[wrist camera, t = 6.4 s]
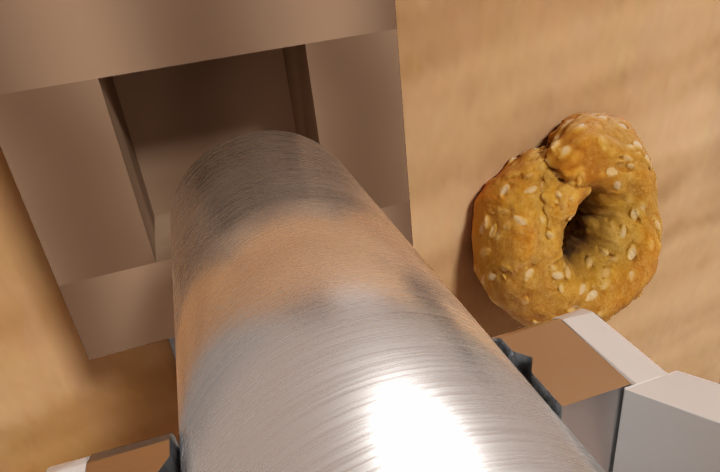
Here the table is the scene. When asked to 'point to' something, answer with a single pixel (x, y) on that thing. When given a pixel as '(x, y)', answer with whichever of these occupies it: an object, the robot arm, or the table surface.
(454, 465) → the part
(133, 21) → the pocket block
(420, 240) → the table surface
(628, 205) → the bagel
